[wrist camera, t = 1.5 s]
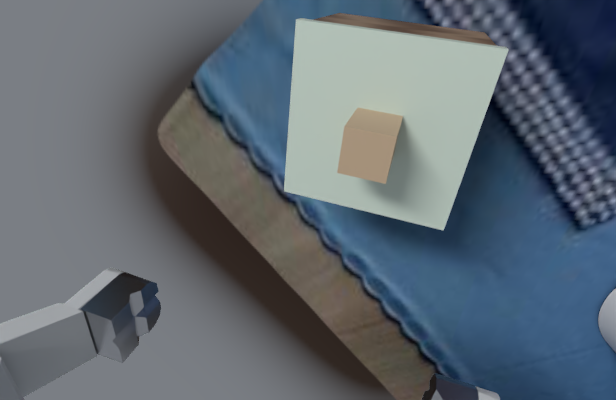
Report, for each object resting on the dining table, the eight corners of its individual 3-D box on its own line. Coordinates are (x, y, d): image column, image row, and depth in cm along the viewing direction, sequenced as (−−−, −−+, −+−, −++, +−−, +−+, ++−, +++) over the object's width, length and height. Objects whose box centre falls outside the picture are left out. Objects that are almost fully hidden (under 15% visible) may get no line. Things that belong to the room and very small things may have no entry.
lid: (506, 47, 21) (521, 61, 17) (443, 223, 28) (443, 264, 23) (301, 18, 24) (271, 24, 20) (288, 185, 30) (263, 216, 26)
